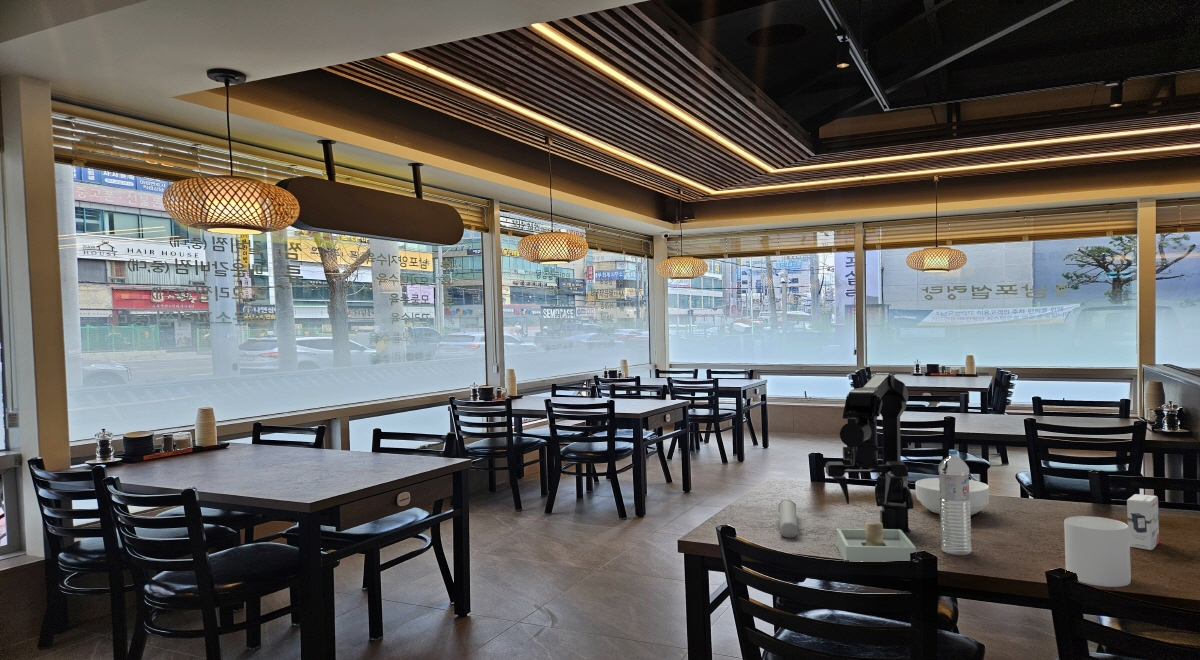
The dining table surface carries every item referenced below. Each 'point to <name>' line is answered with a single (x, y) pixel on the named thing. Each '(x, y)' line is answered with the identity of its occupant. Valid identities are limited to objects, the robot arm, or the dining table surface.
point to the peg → (874, 533)
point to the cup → (1098, 550)
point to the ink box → (1143, 521)
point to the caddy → (856, 549)
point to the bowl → (931, 493)
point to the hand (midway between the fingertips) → (867, 503)
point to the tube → (788, 518)
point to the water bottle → (954, 505)
